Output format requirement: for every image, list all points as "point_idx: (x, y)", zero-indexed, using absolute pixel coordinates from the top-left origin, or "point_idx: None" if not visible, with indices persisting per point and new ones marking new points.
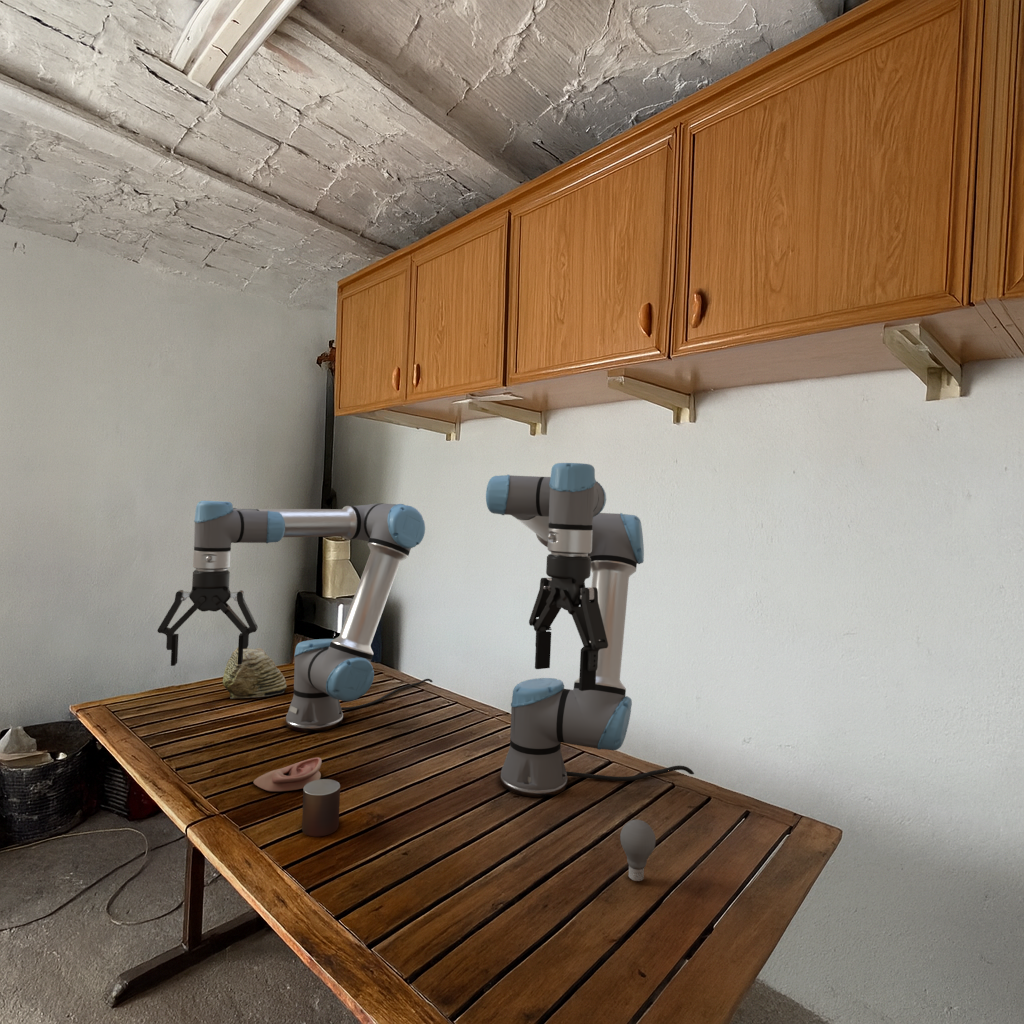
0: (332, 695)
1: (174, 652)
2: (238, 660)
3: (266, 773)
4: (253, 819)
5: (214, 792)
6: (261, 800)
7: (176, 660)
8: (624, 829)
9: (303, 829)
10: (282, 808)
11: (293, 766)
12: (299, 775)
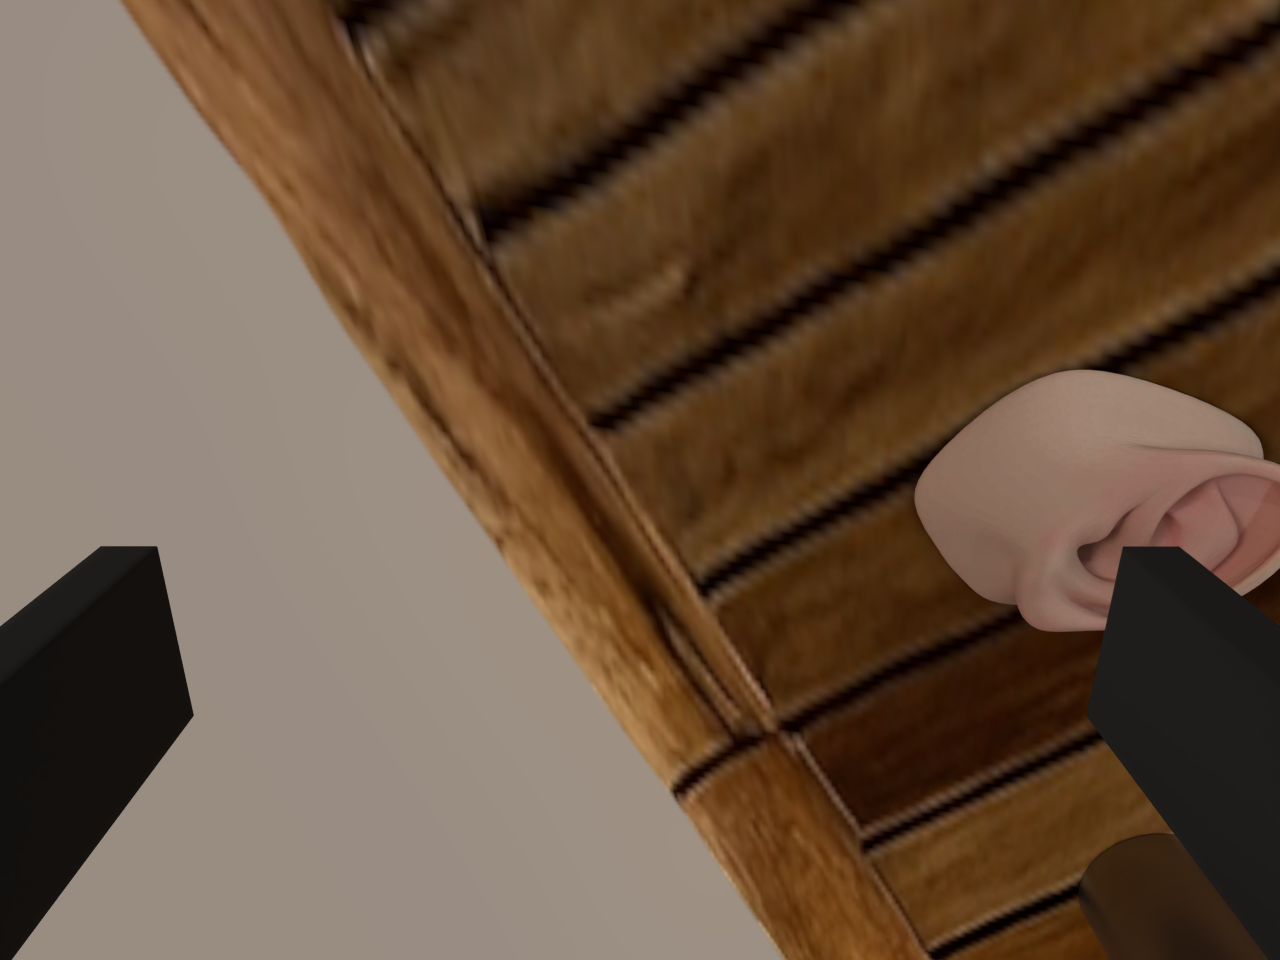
0: None
1: (66, 873)
2: (1127, 756)
3: (987, 466)
4: (910, 793)
5: (734, 546)
6: (945, 656)
7: (142, 632)
8: None
9: (1086, 916)
10: (1026, 735)
11: (1144, 502)
12: None
